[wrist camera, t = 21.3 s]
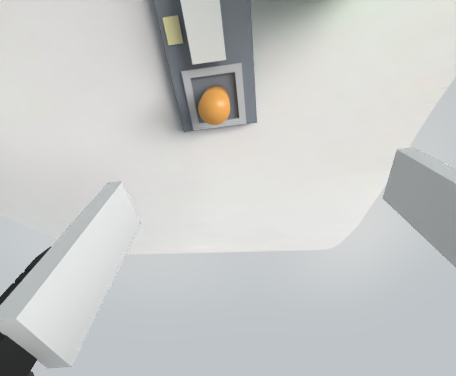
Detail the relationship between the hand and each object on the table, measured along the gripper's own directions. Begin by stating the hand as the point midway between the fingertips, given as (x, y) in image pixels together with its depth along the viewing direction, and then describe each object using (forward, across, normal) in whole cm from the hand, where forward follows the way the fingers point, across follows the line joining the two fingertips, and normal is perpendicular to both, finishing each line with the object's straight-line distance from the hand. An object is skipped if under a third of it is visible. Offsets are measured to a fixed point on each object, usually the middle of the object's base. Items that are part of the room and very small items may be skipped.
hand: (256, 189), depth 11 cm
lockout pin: (+27, -3, 0) cm, 27 cm away
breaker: (+24, -3, +9) cm, 26 cm away
